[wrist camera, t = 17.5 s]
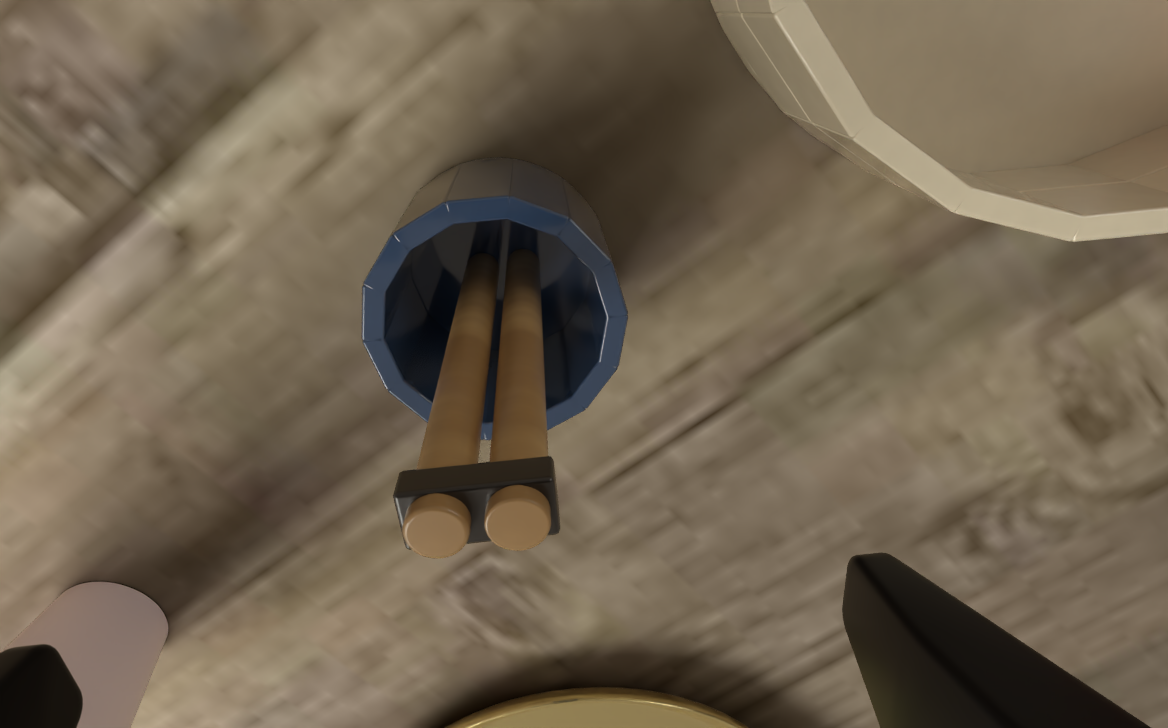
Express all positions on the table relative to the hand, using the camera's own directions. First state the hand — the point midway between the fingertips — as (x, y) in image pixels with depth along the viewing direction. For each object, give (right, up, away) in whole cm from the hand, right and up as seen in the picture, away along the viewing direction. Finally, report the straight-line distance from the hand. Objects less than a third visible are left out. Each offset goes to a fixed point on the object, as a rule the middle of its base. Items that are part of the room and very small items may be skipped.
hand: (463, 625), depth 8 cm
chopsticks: (-1, +6, +11) cm, 13 cm away
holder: (-1, +6, +12) cm, 13 cm away
